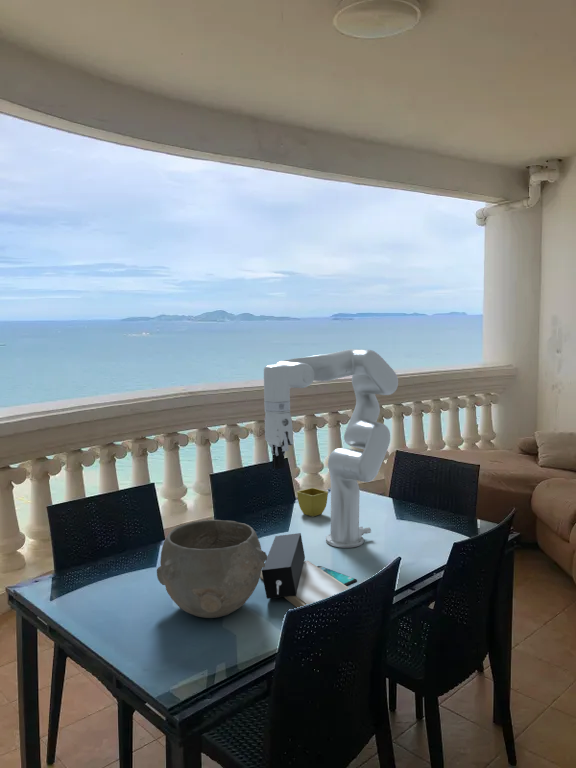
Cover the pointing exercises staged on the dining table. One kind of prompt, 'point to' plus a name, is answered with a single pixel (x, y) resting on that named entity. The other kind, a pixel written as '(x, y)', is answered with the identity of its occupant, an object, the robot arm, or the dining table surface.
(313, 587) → the tray
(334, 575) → the smartphone
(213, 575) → the bowl
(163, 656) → the dining table surface
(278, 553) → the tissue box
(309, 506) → the flower pot
